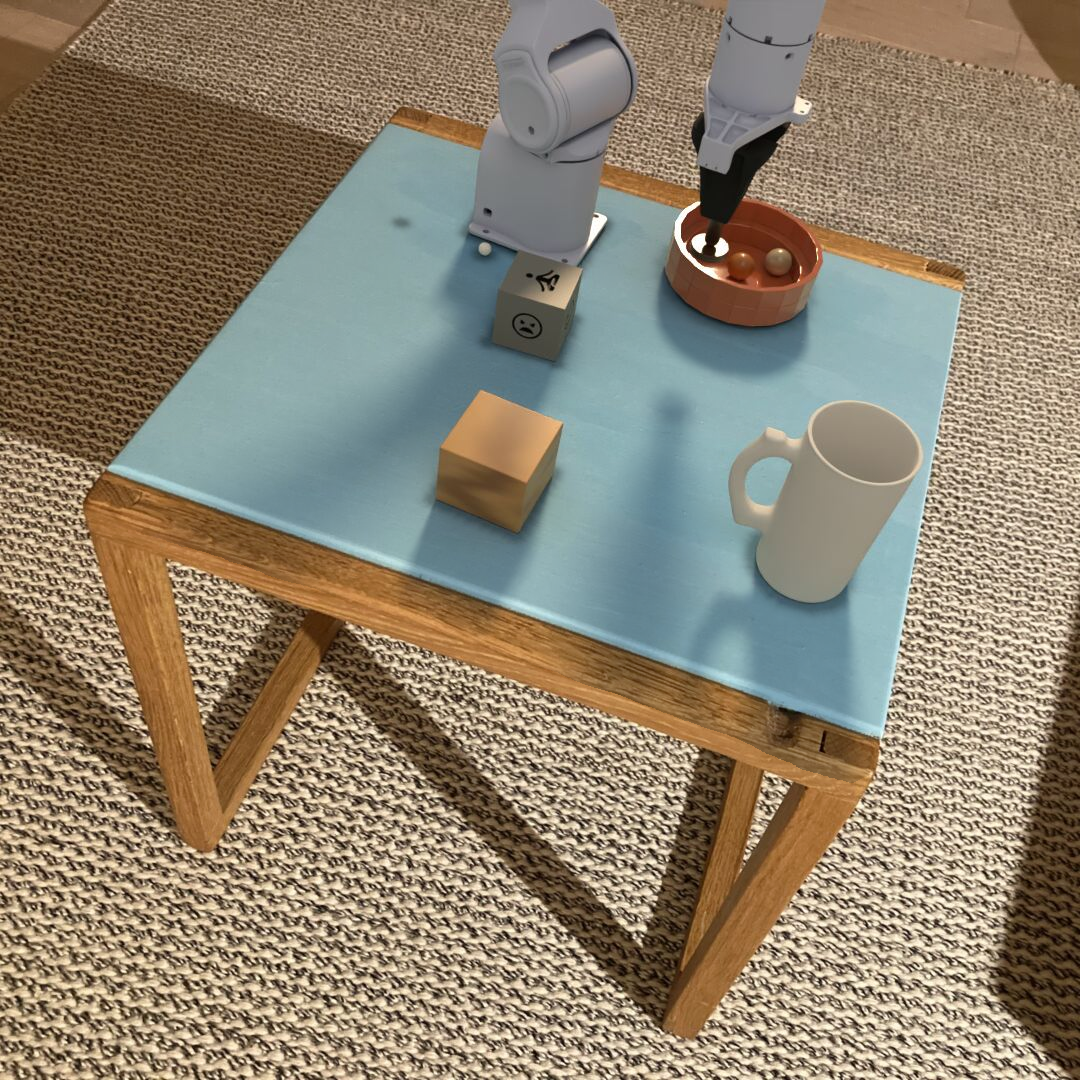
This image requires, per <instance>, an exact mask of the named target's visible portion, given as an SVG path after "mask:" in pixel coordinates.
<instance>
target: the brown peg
mask: <svg viewBox="0 0 1080 1080" xmlns="http://www.w3.org/2000/svg"><path fill="white" fill-rule="evenodd" d="M723 226H724V224H723V223H720V222H717V221H714V220H711V219H709V223H708V227H707V230H706V234H699V235H697V236H695V237H694V238H693V239H692V241H691V245H690V251H691V253H692V255H693V256H694V257H695V258H697V259H698V260H700V261H703V262H707V263H719V262H722V261H724V260H725V259H726V257H727V255H728V251H729V246H728V244H727V242H726V241H725V240H724V239H722V238H721V233H722V230H723Z"/></svg>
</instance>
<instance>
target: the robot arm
mask: <svg viewBox="0 0 1080 1080" xmlns="http://www.w3.org/2000/svg"><path fill="white" fill-rule="evenodd" d="M826 3H827V0H728V1H727V5H726V9H725V12H724V18H723V21H722V25H721V30H720V34H719V38H718V42H717V45H716V46H717V47H716V50H715V54H714V59H713V61H712V62H713V63H712V67H711V71H710V74H709V75H708V76H707V77H706V80H705V82H704V87H703V92H702V96H703V99H702V100H703V111H700V112H699V114H698V115H697V117H696V118H695V120H694V121H693V123H692V126H691V130H690V131H691V132H690V133H691V134H690V136H691V137H690V138H691V141H692V144H693V146H694V150H695V153H696V157H697V158H696V162H695V165H697V166H698V167H699V201H700V214H701V216H703V217H706V218H709V219H711V220H714V221H717V222H720V223H723V224H727V223H728V222H729V221H730V219H731V218H732V216H733V214H734V213H735V211H736V209H737V207H738V206H739V204H740V203H741V201H742V199H743V198H745V196H746V194H747V192H748V190H749V188H750V186H751V184H752V182H753V179H754V177H755V175H756V174H757V172H758V171H759V170H760V169H761V168H762V167H764V166H765V165H766V163H767V162H768V161H769V160H770V159H771V158H772V156H773V155H774V153H775V152H776V150H777V149H778V148H779V143H778V141H779V140H781V138H782V137H784V135H786V133H787V131H788V130H789V129H790V126H791V124H792V123H793V124H796V125H804V124H805V123H806V122H807V121H808V119H809V117H810V116H811V113H812V110H813V108H814V107H813V103H812V102H811V101H810V100H807V99H803V98H801V97H800V96H799V95H798V92H799V89H800V86H801V83H802V80H803V76H804V73H805V71H806V67H807V64H808V61H809V58H810V54H811V51H812V48H813V44H814V41H815V37H816V34H817V32H818V29H819V25H820V22H821V20H822V15H823V13H824V10H825V6H826ZM508 4H509V9H510V11H511V14H510V17H509V21H508V22H507V23H506V26H505V29H504V30H503V32H502V34H501V35H500V38H499V40H498V41H497V43H496V46H495V47H494V51H493V54H492V59H493V62H494V66H495V70H496V72H497V79H498V89H497V90H498V91H497V103H498V110H499V112H498V113H497V114H496V115H495V116H494V117H493V119H492V121H491V122H490V123H489V126H488V128H487V129H486V132H485V135H484V137H483V140H482V143H481V147H480V151H479V156H478V160H477V161H478V162H477V171H476V172H477V173H476V180H475V181H476V182H475V191H474V204H473V213H472V214H473V215H472V222H471V223H470V224H469V225H468V232H469V233H470V234H471V235H473V236H476V237H479V238H481V239H484V240H487V241H490V242H492V243H495V244H497V245H499V246H503V247H506V248H508V249H510V250H514V251H516V252H518V251H519V250H521V251H524V252H528V253H531V254H535V255H538V256H541V257H545V258H548V259H552V260H555V261H558V262H562V263H565V264H569V265H572V266H576V267H579V264H581V262H582V260H583V259H584V257H585V255H587V253H588V251H589V250H590V248H591V247H592V245H593V244H594V243H595V242H596V240H597V238H598V237H599V235H600V234H601V232H602V231H603V230H604V228H605V227H606V225H607V224H608V218H607V216H606V215H604V214H601V213H598V212H596V208H597V207H596V206H597V201H598V195H599V192H600V191H599V190H600V185H601V182H602V181H601V180H602V176H603V170H604V165H605V159H606V156H607V155H606V154H607V150H608V145H609V139H610V135H611V134H612V133H614V131H615V130H614V129H615V125H616V120H617V117H619V116H621V115H623V114H625V113H626V112H627V111H628V110H629V109H630V108H631V107H632V106H633V104H634V102H635V100H636V97H637V95H638V89H639V74H638V69H637V64H636V62H635V59H634V56H633V55H632V52H631V51H630V49H629V48H628V46H627V45H626V43H625V41H624V39H622V35H621V33H620V32H619V29H618V25H617V20H616V15H615V13H614V11H613V10H612V9H610V7H608V6H607V5H605V4H604V3H603V2H601V1H600V0H508ZM565 44H566V45H565ZM562 45H563V46H562ZM560 46H561V47H560ZM558 47H559V48H558Z"/></svg>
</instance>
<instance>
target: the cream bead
mask: <svg viewBox="0 0 1080 1080" xmlns="http://www.w3.org/2000/svg"><path fill="white" fill-rule="evenodd" d="M791 266H792V257H791V255H790V253H789V252H788V251H787V250H785V249H782V248H777V249H773V250H772V251H770V252H769V253H768V254H767V256H766V258H765V267H766V269H767V271H768V272H769V273H770V274H772V275H775V276H781V275H784V274H786V273H787V272H788V271H789V270H790V268H791Z"/></svg>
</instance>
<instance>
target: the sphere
mask: <svg viewBox="0 0 1080 1080" xmlns="http://www.w3.org/2000/svg"><path fill="white" fill-rule="evenodd" d="M478 252H479V254H480V255H482V256H489V255H490V254H491V252H492V246H491V244H490V243H488V242H486V241H484V242H481V243H480V244H479V246H478Z"/></svg>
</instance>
